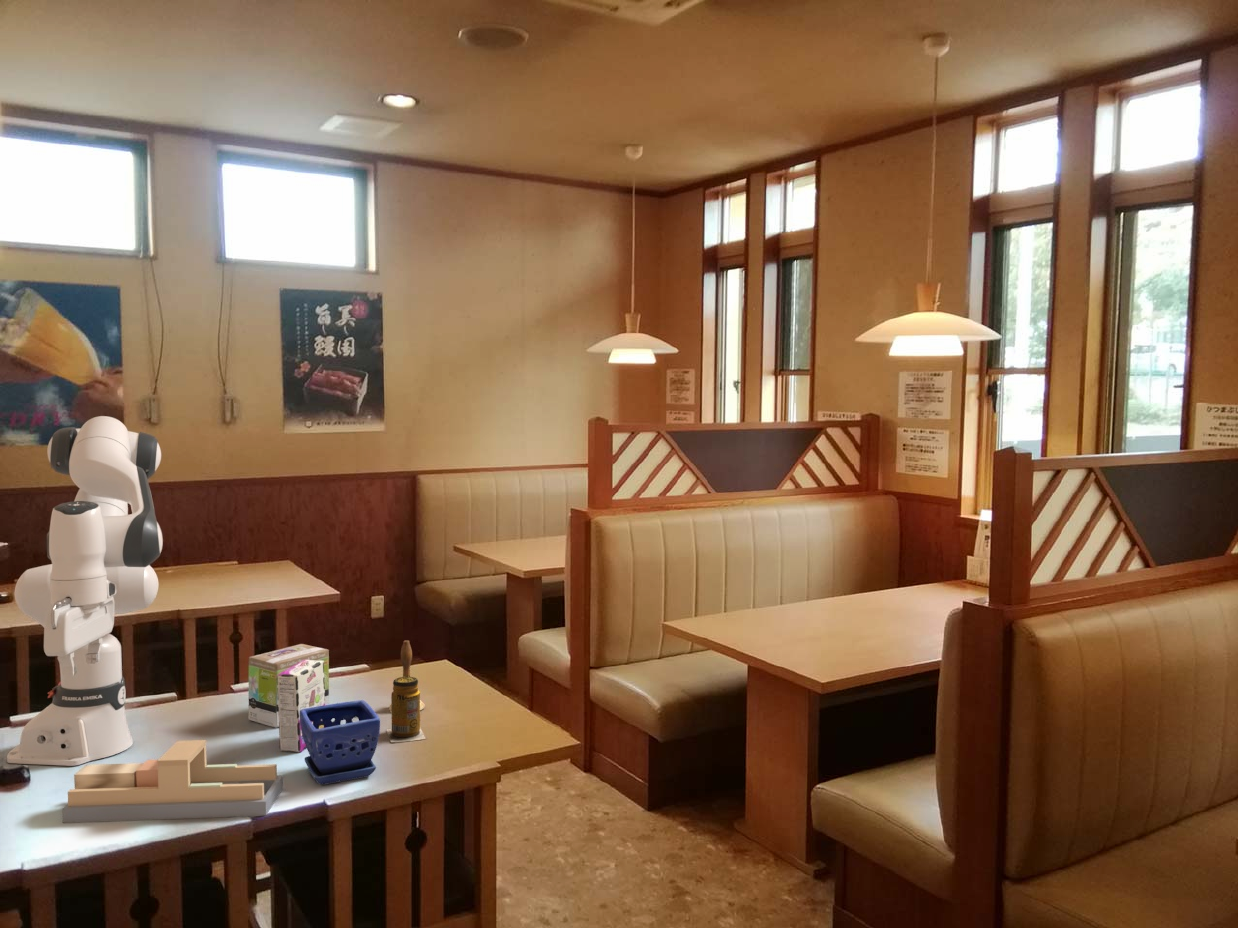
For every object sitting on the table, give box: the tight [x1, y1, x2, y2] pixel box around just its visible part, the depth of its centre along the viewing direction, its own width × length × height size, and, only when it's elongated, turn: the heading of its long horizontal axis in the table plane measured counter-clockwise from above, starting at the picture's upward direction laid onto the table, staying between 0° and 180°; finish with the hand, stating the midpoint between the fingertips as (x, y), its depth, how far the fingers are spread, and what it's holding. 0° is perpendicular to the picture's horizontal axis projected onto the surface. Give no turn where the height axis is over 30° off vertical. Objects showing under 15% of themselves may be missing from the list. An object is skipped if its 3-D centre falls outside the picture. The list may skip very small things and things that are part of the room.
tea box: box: [248, 643, 330, 729], centre depth 218 cm, size 15×10×15 cm
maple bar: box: [73, 762, 145, 789], centre depth 169 cm, size 10×4×4 cm, turn 95°
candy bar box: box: [277, 660, 325, 753], centre depth 200 cm, size 11×5×16 cm, turn 168°
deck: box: [61, 739, 284, 824], centre depth 170 cm, size 34×12×10 cm, turn 95°
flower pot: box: [300, 699, 381, 785], centre depth 185 cm, size 13×13×12 cm
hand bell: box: [388, 639, 426, 713], centre depth 223 cm, size 8×8×16 cm
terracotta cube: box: [136, 758, 160, 787], centre depth 170 cm, size 5×5×5 cm
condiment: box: [386, 676, 427, 743], centre depth 205 cm, size 7×8×12 cm
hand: (81, 669), depth 171 cm, fingers open, 8 cm apart
